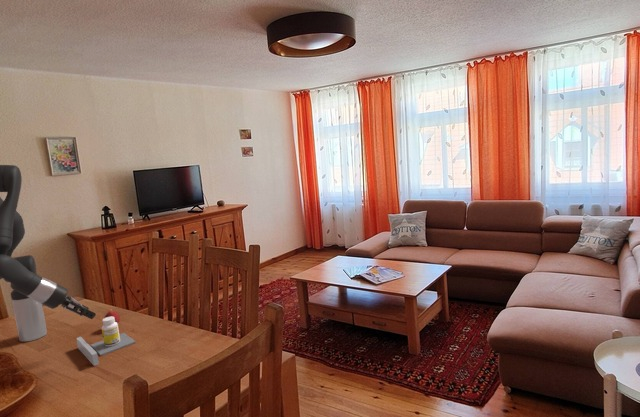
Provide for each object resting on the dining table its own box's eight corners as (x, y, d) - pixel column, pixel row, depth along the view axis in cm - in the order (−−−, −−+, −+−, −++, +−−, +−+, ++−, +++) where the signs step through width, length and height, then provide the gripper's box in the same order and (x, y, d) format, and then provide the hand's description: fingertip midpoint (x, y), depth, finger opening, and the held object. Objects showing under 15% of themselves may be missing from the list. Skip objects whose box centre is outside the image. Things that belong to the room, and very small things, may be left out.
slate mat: (90, 345, 148) (90, 344, 147) (124, 334, 156) (124, 332, 156) (100, 355, 139) (100, 354, 139) (135, 342, 147) (135, 341, 147)
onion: (114, 331, 159) (111, 312, 158) (102, 331, 160) (99, 312, 159) (124, 325, 164) (121, 307, 163) (112, 325, 166) (109, 306, 164)
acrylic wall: (78, 348, 146) (76, 338, 146) (82, 346, 147) (80, 336, 147) (94, 366, 132) (92, 354, 132) (99, 364, 133) (97, 353, 133)
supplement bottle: (108, 340, 149) (104, 316, 148) (122, 339, 150) (119, 314, 149) (101, 347, 144) (97, 322, 143) (117, 345, 145) (113, 320, 143)
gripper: (60, 286, 128) (103, 308, 138) (50, 279, 138) (91, 299, 148) (43, 307, 125) (89, 328, 135) (34, 298, 135) (77, 318, 145)
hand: (90, 313), depth 142 cm, fingers open, 8 cm apart
